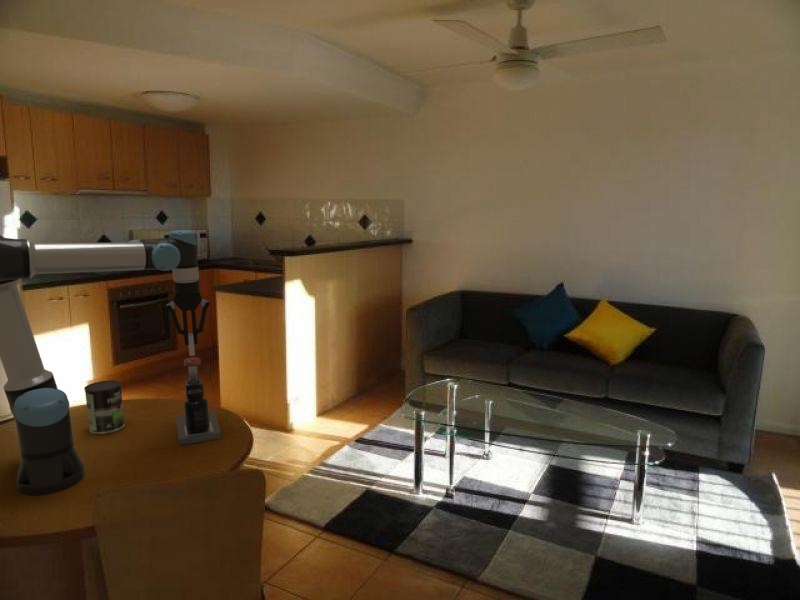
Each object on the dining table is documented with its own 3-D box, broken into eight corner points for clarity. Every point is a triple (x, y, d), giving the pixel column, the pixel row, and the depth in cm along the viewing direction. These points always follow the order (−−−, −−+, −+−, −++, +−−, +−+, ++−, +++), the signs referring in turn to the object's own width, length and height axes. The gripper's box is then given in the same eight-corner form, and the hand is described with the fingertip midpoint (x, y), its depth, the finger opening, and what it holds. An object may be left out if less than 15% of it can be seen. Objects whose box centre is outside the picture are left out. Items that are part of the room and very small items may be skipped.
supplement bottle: (212, 424, 180) (210, 387, 177) (205, 433, 173) (202, 395, 171) (191, 423, 180) (188, 387, 177) (182, 433, 173) (179, 395, 171)
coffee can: (132, 422, 187) (128, 381, 184) (110, 435, 177) (105, 392, 174) (104, 419, 189) (100, 379, 186) (81, 432, 179) (76, 389, 176)
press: (221, 438, 175) (218, 395, 172) (179, 445, 170) (175, 400, 167) (215, 417, 191) (212, 377, 188) (176, 423, 186) (173, 381, 184)
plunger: (203, 398, 183) (201, 360, 180) (187, 400, 181) (184, 362, 179) (202, 393, 187) (199, 356, 185) (186, 395, 185) (183, 358, 183)
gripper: (207, 277, 183) (212, 349, 187) (163, 280, 178) (169, 353, 182) (209, 281, 176) (214, 355, 181) (163, 284, 171) (170, 360, 176)
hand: (192, 354), depth 181 cm, fingers closed
